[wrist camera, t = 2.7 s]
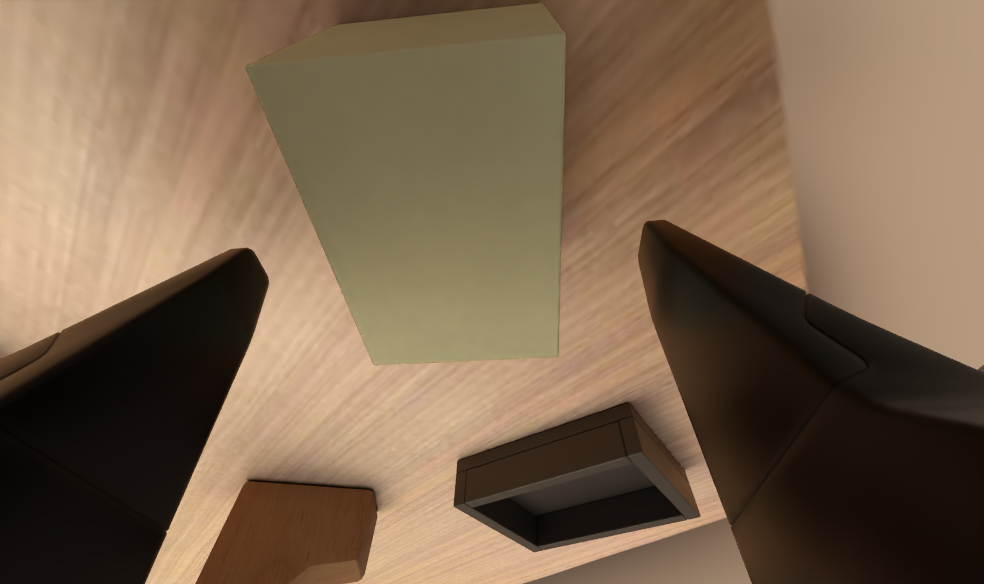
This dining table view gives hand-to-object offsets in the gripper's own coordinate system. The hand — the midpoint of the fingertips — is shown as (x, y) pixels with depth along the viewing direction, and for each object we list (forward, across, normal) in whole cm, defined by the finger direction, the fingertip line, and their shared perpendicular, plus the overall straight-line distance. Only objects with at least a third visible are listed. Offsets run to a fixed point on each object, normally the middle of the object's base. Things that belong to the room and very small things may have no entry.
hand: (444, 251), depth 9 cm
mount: (+5, -4, +20) cm, 22 cm away
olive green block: (+5, 0, 0) cm, 5 cm away
